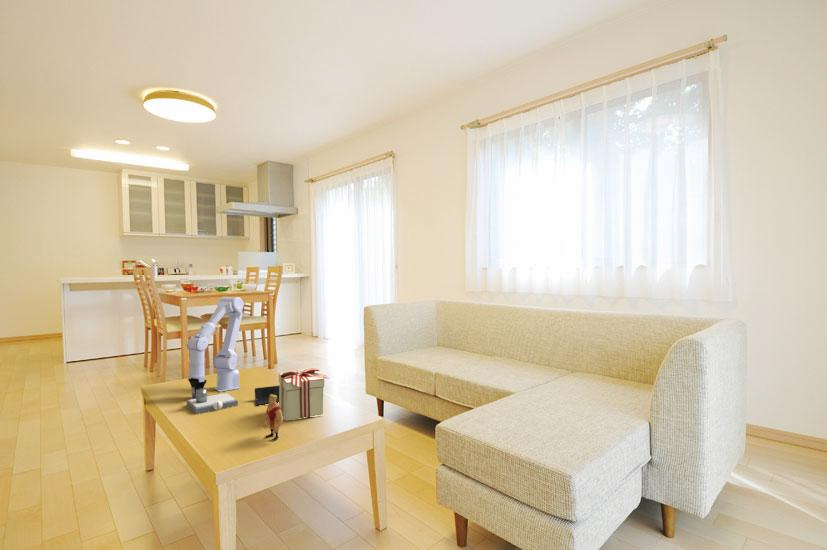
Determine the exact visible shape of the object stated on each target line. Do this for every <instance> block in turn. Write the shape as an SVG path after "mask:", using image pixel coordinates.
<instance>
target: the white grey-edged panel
mask: <svg viewBox="0 0 827 550" xmlns="http://www.w3.org/2000/svg"><path fill="white" fill-rule="evenodd" d="M236 405H238V406H239V401H238V400H237V399H236V398H235V397H234V396H232V395H231V394H229V393H227V392H225V393H224V392H223V393H219V394H214V395H209V396H208V395H207V402H204V403H196V399H192V398H191V399H188V400H186V407H188V409H189V410H191V411H192V413H194V414H195V415H199V413H200V414H203V413H204V412H205V413H209V412H208V411H210V412H213V410H215V411H219V410H223V409H222V408H224V409H228V408H227V407H229V408H233V407H232V406H234V407H237V406H236ZM205 413H204V414H205Z"/></svg>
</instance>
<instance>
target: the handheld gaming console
mask: <svg viewBox="0 0 827 550" xmlns="http://www.w3.org/2000/svg"><path fill="white" fill-rule="evenodd" d="M279 386H280V385H272V386H264V387H263V386H262V387H256V388H255V387H254V403H255V406H256V407H260V406H259V405H264V406H266V405H265V404H269V396H270V394H272V395H276V396H277V398H276V403H278V402H279Z"/></svg>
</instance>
